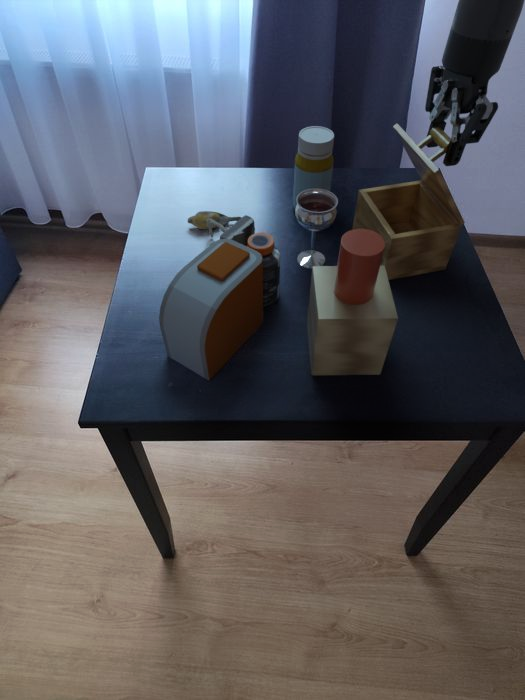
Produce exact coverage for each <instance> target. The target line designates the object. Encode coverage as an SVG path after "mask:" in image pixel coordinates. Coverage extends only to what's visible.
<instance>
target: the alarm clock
mask: <svg viewBox="0 0 525 700" xmlns="http://www.w3.org/2000/svg"><path fill="white" fill-rule="evenodd" d="M158 321H159V328H160V332H161V336H162V340H163V344H164V348H165V351H166V352H165V353H166V355H167V357H168V358H169V359H172V360H174V361H175V362H177V363H178V364H180V365H182V366H183V367H185V368H187V370H190V371H192V372H193V373H195V374H197V375H198V376H200V377H202V378H203V379H205V380H207V381H211V379H212V378H213V377H214V376H215V375H216V374H218V372H219V371H220V370H221V369H222V368H223V367H224V366H225V365H226V363H227V362H228V361H229V360H230V359H231V358H233V356H234V355H235V354H236V353H238V351H239V350H240V349H241V347H243V346H244V345H245V344H246V342H247V341H249V339H250V338H251V337H252V336H253V335H254V334H255V333H256V331H258V329H260V328H261V327H262V325H263V323H264V306H263V258H262V255H261V254H260V253H259V252H257V251H256V250H253V249H251V248H249V247H247V246H244V245H242V244H240V243H238V242H236V241H233V240H231V239H220V238H219V239H217V240H215V241H214V242H213V243H211V244H209V245H208V246H207V247H206V248H205V249H204V250H202V251H201V252H200V253H199V254H198V255H197V256H195V257H194V258H193V259H191V260H190V261H189V262H188V263H186V264H185V265H184V266H183V267H182V268H181V270H179V271H178V272H177V273H176V275H174V277H173V279H172V280H171V281H170V283H169V284H168V287H167V288H166V291H165V292H164V295H163V296H162V300H161V304H160V306H159V314H158Z"/></svg>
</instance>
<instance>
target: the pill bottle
mask: <svg viewBox="0 0 525 700" xmlns="http://www.w3.org/2000/svg"><path fill="white" fill-rule="evenodd" d="M247 243H248V245H247V247H249V248H251V249H253V250H256V251H257V252H259V253H260V254H261V255H262V258H263V307H268V306H270V305H273V304H274V303H276V302H277V300H278V299H279V297H280V285H281V284H280V283H281V282H280V281H281V277H280V276H281V253H280V251H279V248H278V247H276V246H275V239H274V237H273V236H272V235H271V234H269V233H266V232H255V233H254V234H253V235H251V236H250V237H249V238H248V242H247Z"/></svg>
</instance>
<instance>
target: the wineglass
mask: <svg viewBox="0 0 525 700" xmlns="http://www.w3.org/2000/svg"><path fill="white" fill-rule="evenodd" d="M296 202H297V205H296V208H295V210H294V216H295V219H296V220H297V222H298V225H300V226H301V227H302V228H304V229H305V230H307V231H309V232H311V234H310V235H311V237H310V238H311V239H310V249H308V250H303V251H301V252H300V253H298V255H297V263H298V264H299V265H300V266H301V267H304V268H306V269H312V267H313V266H324V264H325V262H326V257H325V255H324V254H323V253H321V252H320V251H317V250H315V249H314V248H315V242H316V236H317V232H322V231H324V230H326V229H328V228H330V226H332V225H333V224H334V222H335V220H336V217H337V215H338V210H337V206H338V204H339V199H338V196H337V195H335V194H334V193H333V192H331V191H330V192H329V191H327V190H323V189H308V190H305V191H302V192H301V193H300V194H298V196H297V198H296Z"/></svg>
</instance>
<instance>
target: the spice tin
mask: <svg viewBox="0 0 525 700" xmlns="http://www.w3.org/2000/svg"><path fill="white" fill-rule="evenodd" d="M384 248H385V241H384V239H383V238H382V237H381V236H380V235H379V234H378V233H376V232H374V231H371V230H368V229H353V230H352V229H350V230H348V231H346V232H344V234H342V236H341V238H340V244H339V251H338V257H337V264H336V266H337V269H336V276H335V282H334V293H335V295H336V297H337V298H338V299H339V300H341V301H342V302H344V303H347V304H352V305H360V304H364V303H366V302H368V301H369V300H370V299H371V298H372V296H373V293H374V289H375V285H376V281H377V277H378V273H379V269H380V265H381V261H382V256H383V252H384Z"/></svg>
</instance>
